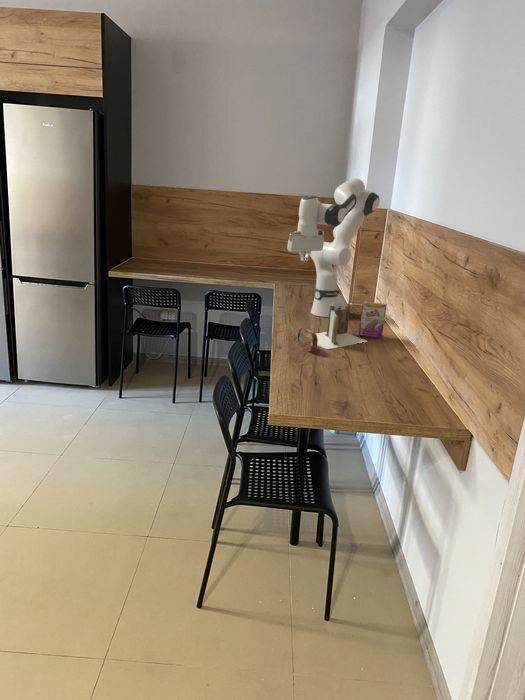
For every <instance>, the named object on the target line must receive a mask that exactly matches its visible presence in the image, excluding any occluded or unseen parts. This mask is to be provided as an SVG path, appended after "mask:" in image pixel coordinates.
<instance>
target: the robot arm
mask: <svg viewBox="0 0 525 700" xmlns="http://www.w3.org/2000/svg"><path fill="white" fill-rule="evenodd" d="M365 188H366V187H365V183H364V181H363V180H361V179H360V178H356V177H355V178H351V179H349V180H346V181H345V182H343V183H341V184H340V185H338V186H337V187H336V188H335V190H334V193H333V198H334V201H335V203H336V204H331V203H322V202H321V201H319V199H318V196H317V195H305V196H303V197H301V200H300V201H299V202H300V203H299V208H298V218H299V219H298V223H297V231H291V232H290V233H289V237H288V241H287V246H286V247H287V248H286V249H287V251H288V252H291V253H298V255H299V257H300V261H301V262H307V261H309V257H310V258H311V259H312V261H313V263H314V266H315V267H314V268H315V270H316V283H315V288H314V293H313V294H314V298H313V303H312V307H311V309H310V314H312V315H313V316H317V317H323V318H329V309H330V306H335V310H338V309H345V306H347V305H346V303H345V301H343V299H342V298H341V297H339V295H341V294H342V289H341V290H340V289H337V286H338V285H337V283H338V274H337V272H336V271H335V270H334V267H333V266H345V265H347V264H348V263H349V262H350V260H351V256H352V252H351V249H350V245H351V242H352V240H353V238H354V237H355V235H356V234H357V232H358V230H360V228H361V226H362V225H363V222H364V220H365V217H367V216H369V215H370V214H373V213H374V212H376V210H377V209H378V208H379V205H380V196H379V195H378V194H377V193H375V192H374V191H370V190H369V189H365ZM317 224H318V225H325V226H330V227H334V229H333V230H332V235H333V238H334V239H333V241H332V242H328V241H325V239H324V238H325V237H324V235H325V231H324V230H322V229H319V228H317V227H318V226H317ZM304 255H305V256H304Z"/></svg>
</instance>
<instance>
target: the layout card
mask: <svg viewBox="0 0 525 700" xmlns="http://www.w3.org/2000/svg"><path fill="white" fill-rule="evenodd" d="M315 334H316V335H317V339H318V342H317V347H319V348H323V349H325V350H332V349H337V348H338V347H339V348H343V347H344V348H345V347H348V345H349V346H353V344H354V345H358V344H357V343H359V344H362V342H364V343H368V340H366V339H364V338H361V337H358V336H356V335H353V334H350V333H348V332H347V333H342V334H337V336H336V343H332V342H331V339H330V337H329V336H328V335H327V331H324V332H318V333H315ZM339 348H338V349H339Z"/></svg>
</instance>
